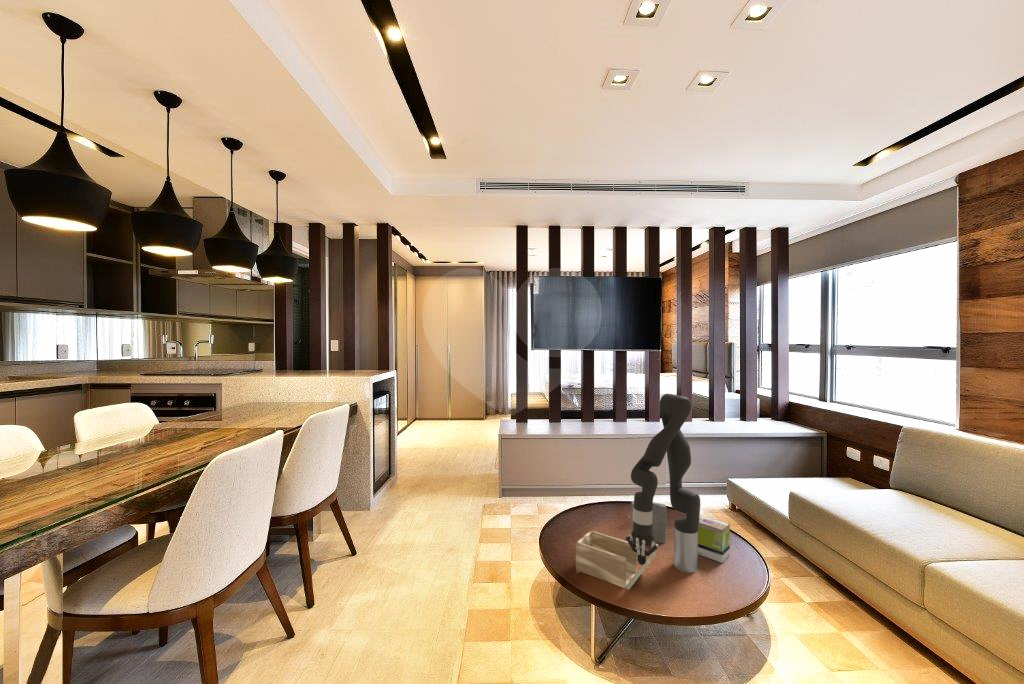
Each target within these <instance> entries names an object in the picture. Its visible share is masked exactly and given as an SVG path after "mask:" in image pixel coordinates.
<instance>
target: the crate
mask: <svg viewBox="0 0 1024 684" xmlns="http://www.w3.org/2000/svg"><path fill="white" fill-rule="evenodd" d="M637 560H638V554H637V553H636V552H634V551H633V550H632V548H631V546H630V545H629V543H628V541H627V540H623V539H621V538H617V537H614V536H611V535H607V534H604V533H601V532H598V531H595V530H591V529H590V530H589V531H588V532H587V533H586V534H585V535H584V536H582V537H581V538H580V539H579V540H578V541H576V543H575V573H576V574H580V573H583V574H585V575H589V576H591V577H594V578H596V579H599V580H602V581H605V582H607V583H610V584H612V585H615V586H617V587H620V588H623V589H626V587H627V586H628V585H629V583H630V582H631V581H632V579H633V578H634V577H635V575H636V574H637V573H638V565H639V562H638V561H637Z"/></svg>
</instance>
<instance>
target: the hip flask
mask: <svg viewBox="0 0 1024 684" xmlns="http://www.w3.org/2000/svg"><path fill="white" fill-rule="evenodd" d="M633 510H634V501H631V512H630V513H631V519H630V520H631V522H630V523H631V524H630V525H631V526H630V527H631V528H630V530H631V531H630V532H631V533H632V531H633V530H632V528H633ZM631 533H630V534H631ZM666 534H667V505H666V504H665V503H659V502H654V501H653V534H652V536H653V538H654V540H653V541H654V542H655V543H658V544H659V543H660V544H665V543H667V535H666ZM633 540H634V539H633Z"/></svg>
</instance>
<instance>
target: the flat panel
mask: <svg viewBox="0 0 1024 684" xmlns="http://www.w3.org/2000/svg"><path fill="white" fill-rule="evenodd" d="M656 555H657V552H655V551H654V552H653V553H652V554H650V555H649V556H648V559H646V562H645V564H643V565H641V568H640V569H639V570H637V573H636V574H635V576H634V577H633V578H632V580H631V581H630V582H629V583H628V585H627V586H626V587H625V589H627V590H628V591H630V589H631V588H632V587H633V586H634V584H635V583H636V581H637V580H638V579H639V577H641V575H642V574H643V572H644V571H645V570H646V569H647V567H648V566H649V565H650V563H651V562H652V561H653V559H654V558H655V556H656Z"/></svg>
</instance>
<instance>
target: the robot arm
mask: <svg viewBox="0 0 1024 684" xmlns="http://www.w3.org/2000/svg"><path fill="white" fill-rule="evenodd" d="M658 405H659V413H660V418H661V423H662V426H663V429H661V430H660V431H658V433H656V434H655V435H654V436H653V437H652V438H651V440H650V441H649V443H648V445H647V447H646V448H645V451H644V454H643V455H642V456H641V458H640V459H639V460H638V461H637V463H636V464H635V465H634V467H632V470H631V472H630V479H631V482H632V483H633V484H634V485H637V486H638V487H640V488H642V489H641V491H637V492H635V493H634V495H633V502H634V510H633V528H632V530H633V531H632V533H630V534H628V535H627V536H626V537H625V541H627V542H628V543H629V545H630V546H631V548H632V550H633V551H634V552H636V553H637V554H638V560H637V561H638V565H640V566H643V565H644V564H645V562H646V561H647V557H650V556H651V554H652V553H653V552H655V551H656V550H657V549H658V548H659V547H660V544H659V542H654V541H653V540H654V538H653V536H652V534H653V502H654V497H655V495H656V492H657V489H658V485H659V481H658V476H657V475H656V473H655V472H653V471H651V469H652V468H653V467H655V468H658V467H660V466H661V464H662V463H663V461H664V458H665V456H666V458H667V464H668V473H669V474H668V475H669V500H670V505H671V507H672V508H673V510H676V511H678V512H681V513H684V514H686V516H685V517H684V516H683V517H678V518H676V519H675V520H674V524H673V525H674V527H673V528H674V530H673V531H674V534H673V537H674V538H673V540H674V541H673V543H674V545H673V547H674V548H673V549H674V550H673V566H674V567H675V569H677V570H678V571H680V572H684V573H688V574H692V573H693V574H694V573H696V572H698V568H699V567H698V566H699V565H698V564H699V554H698V526H699V517H700V515H701V513H700V512H701V498H700V497H701V496H700V495H699V494H698V493H697V492H694V491H692V490H688V489H684V488H683V477H684V476H685V474H686V472H688V470H689V468H690V467H691V464H692V456H691V455H692V453H691V447H690V444H689V441H688V440H687V438H686V437H685V435H684V434H683V432H682V430H681V428H682V427H683V426H684V423H685V422H686V420H687V419H688V417H689V416H690V414H691V411H692V402H691V400H690V399H689V398H688V397H686V396H683V395H677V394H673V393H672V394H671V393H664V394H662V396H661V398H660V399H659V404H658ZM633 539H634V540H633ZM650 545H651V548H650V549H648V547H649V546H650Z"/></svg>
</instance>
